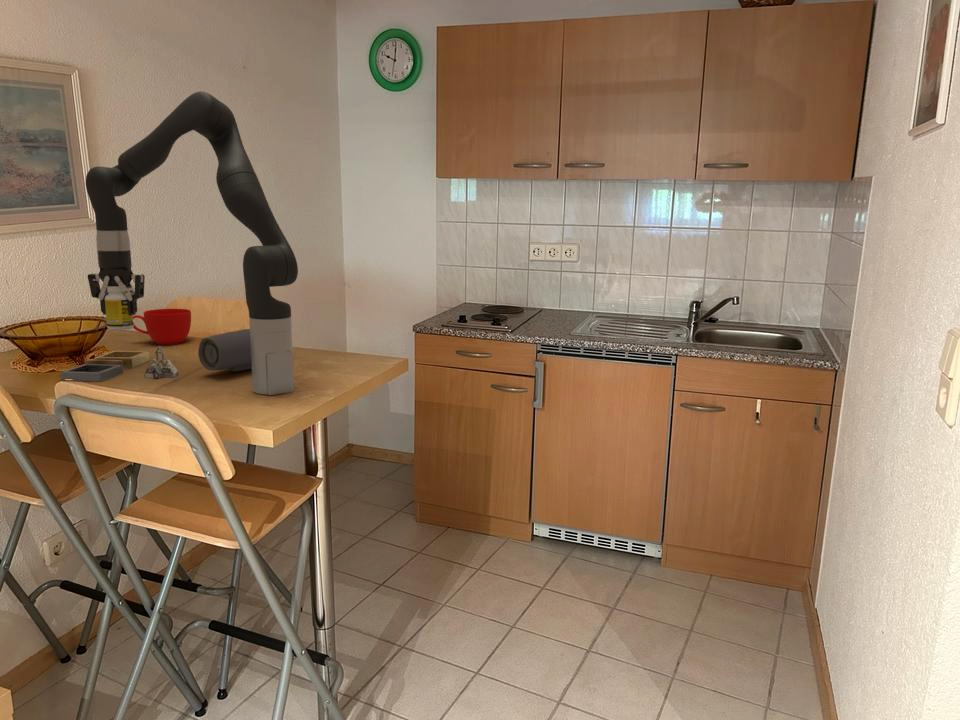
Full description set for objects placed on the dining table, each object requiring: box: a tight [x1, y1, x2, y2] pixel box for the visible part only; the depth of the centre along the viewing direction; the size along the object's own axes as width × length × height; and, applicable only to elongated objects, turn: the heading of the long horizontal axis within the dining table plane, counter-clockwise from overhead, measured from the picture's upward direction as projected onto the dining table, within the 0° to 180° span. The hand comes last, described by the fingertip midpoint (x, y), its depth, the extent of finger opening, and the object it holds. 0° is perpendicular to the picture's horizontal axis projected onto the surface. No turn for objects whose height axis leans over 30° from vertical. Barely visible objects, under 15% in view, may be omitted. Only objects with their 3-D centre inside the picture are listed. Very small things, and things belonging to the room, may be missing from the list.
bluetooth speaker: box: [197, 328, 252, 373], centre depth 184 cm, size 23×9×10 cm, turn 148°
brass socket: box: [93, 350, 150, 369], centre depth 187 cm, size 10×10×2 cm
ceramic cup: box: [132, 308, 192, 346], centre depth 214 cm, size 13×17×10 cm
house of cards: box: [143, 345, 180, 380], centre depth 172 cm, size 9×9×8 cm
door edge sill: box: [83, 359, 125, 371], centre depth 180 cm, size 9×1×2 cm, turn 90°
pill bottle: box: [105, 286, 135, 331], centre depth 184 cm, size 6×6×11 cm
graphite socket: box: [60, 363, 124, 383], centre depth 172 cm, size 10×10×2 cm
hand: (119, 314), depth 185 cm, fingers closed on pill bottle, 6 cm apart
